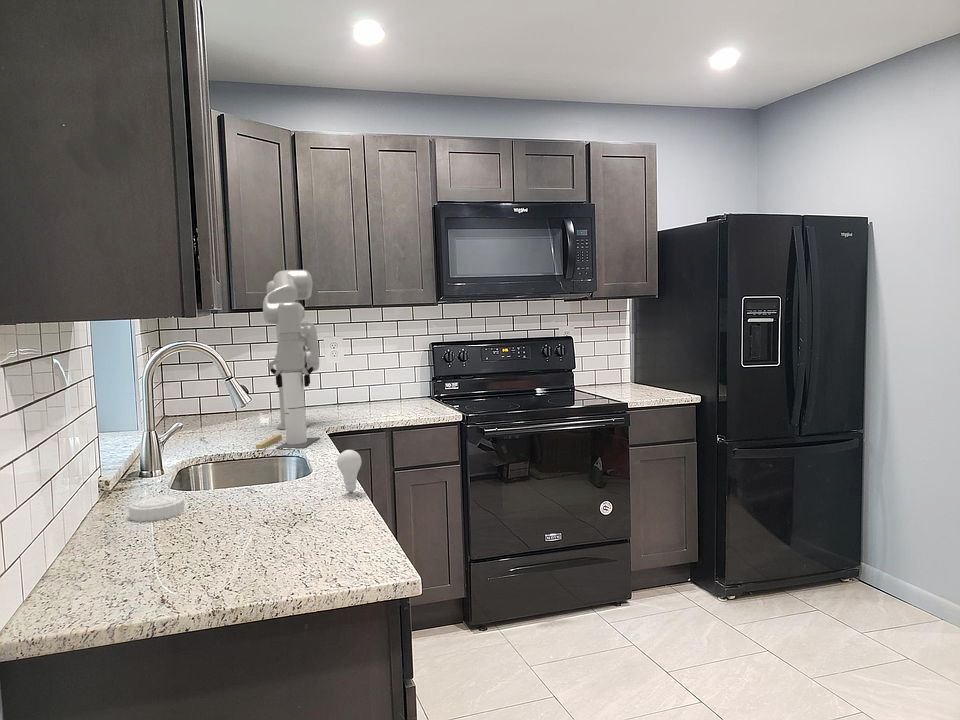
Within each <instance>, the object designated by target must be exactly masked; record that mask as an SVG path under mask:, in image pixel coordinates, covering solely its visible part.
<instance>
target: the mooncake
mask: <svg viewBox="0 0 960 720" xmlns="http://www.w3.org/2000/svg"><path fill="white" fill-rule="evenodd" d="M184 512H185V502H184V497H182V496H179V495H173V494H162V495H156V496H149V497H145V498H141V499H138V500H137V501H134V502H133V503H130V504H129V506H128V514H129V517H128V518H129V520H131V521H134V522H153V521H162V520H165V519H170V518H173V517H176V516H179V515H181V514H183V513H184Z"/></svg>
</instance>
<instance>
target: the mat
mask: <svg viewBox="0 0 960 720" xmlns="http://www.w3.org/2000/svg"><path fill="white" fill-rule="evenodd" d="M320 439H321V437H320V436H319V437H307V442H306V443H302V444H287V442H286V441H285V442H284V443H282V444H280V445H278V446H277V447H275V450H276V449H280V448H281V450H284V449H283V448H305V447H306V448H308V447H309V445H310V446H311V445H313V444H315V443H316V442H318V441H319V440H320ZM307 446H308V447H307ZM306 448H305V449H306Z"/></svg>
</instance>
